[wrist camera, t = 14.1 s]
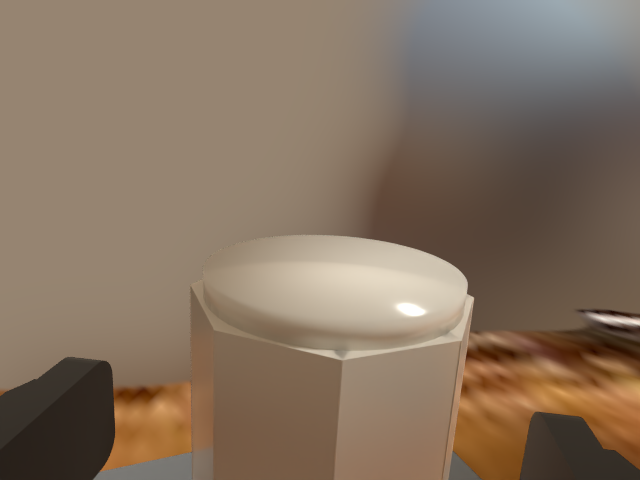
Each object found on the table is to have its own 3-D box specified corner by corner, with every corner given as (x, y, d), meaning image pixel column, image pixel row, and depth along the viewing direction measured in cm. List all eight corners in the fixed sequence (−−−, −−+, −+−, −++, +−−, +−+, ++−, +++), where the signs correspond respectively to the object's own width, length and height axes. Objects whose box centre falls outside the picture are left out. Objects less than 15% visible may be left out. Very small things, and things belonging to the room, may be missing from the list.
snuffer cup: (358, 497, 18) (382, 229, 16) (472, 669, 13) (537, 301, 10) (182, 548, 16) (177, 240, 13) (232, 788, 10) (238, 342, 8)
